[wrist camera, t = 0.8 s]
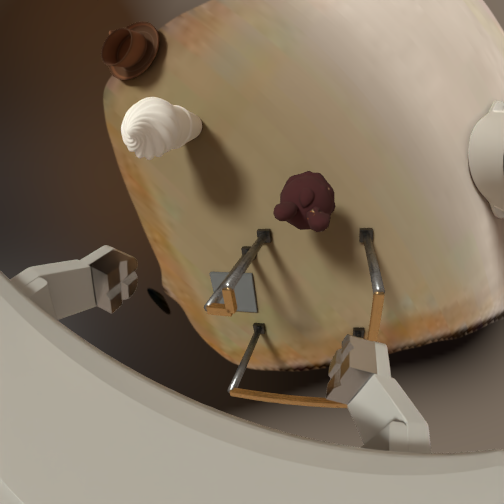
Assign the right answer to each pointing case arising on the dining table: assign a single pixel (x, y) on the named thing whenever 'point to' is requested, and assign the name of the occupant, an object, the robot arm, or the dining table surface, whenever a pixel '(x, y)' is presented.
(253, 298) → the mat
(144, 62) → the cup and saucer
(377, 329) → the wire frame
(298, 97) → the dining table surface
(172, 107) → the soft serve ice cream cone
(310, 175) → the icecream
